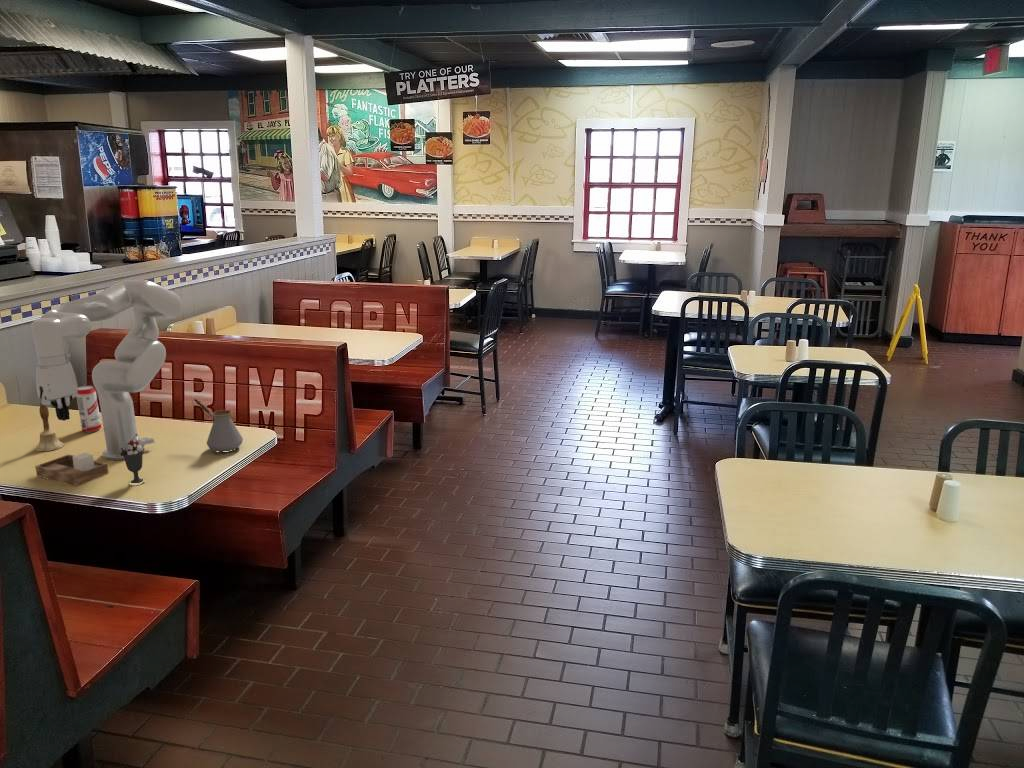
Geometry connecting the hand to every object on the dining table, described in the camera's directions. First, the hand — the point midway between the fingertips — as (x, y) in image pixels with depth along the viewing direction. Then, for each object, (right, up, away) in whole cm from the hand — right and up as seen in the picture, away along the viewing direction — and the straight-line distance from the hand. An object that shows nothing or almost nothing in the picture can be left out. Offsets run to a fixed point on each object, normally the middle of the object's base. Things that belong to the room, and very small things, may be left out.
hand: (63, 419), depth 230 cm
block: (+2, -15, +7) cm, 17 cm away
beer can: (-17, -6, +47) cm, 50 cm away
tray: (-2, -18, +8) cm, 19 cm away
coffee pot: (+34, -11, +32) cm, 48 cm away
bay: (+3, -17, +9) cm, 20 cm away
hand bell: (-22, -11, +30) cm, 39 cm away
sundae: (+21, -19, +2) cm, 29 cm away
